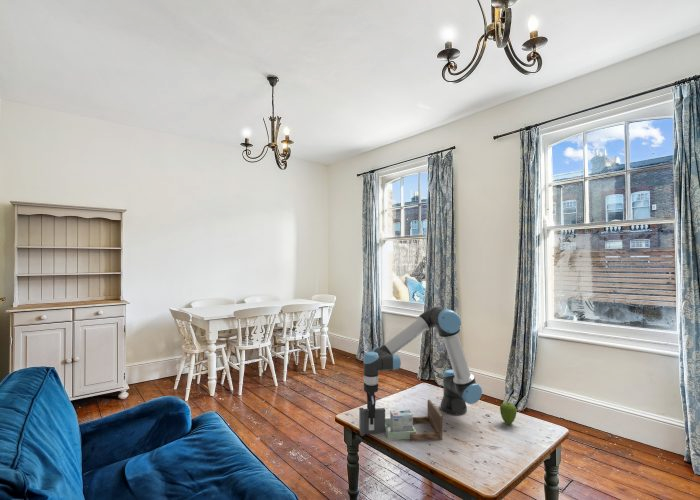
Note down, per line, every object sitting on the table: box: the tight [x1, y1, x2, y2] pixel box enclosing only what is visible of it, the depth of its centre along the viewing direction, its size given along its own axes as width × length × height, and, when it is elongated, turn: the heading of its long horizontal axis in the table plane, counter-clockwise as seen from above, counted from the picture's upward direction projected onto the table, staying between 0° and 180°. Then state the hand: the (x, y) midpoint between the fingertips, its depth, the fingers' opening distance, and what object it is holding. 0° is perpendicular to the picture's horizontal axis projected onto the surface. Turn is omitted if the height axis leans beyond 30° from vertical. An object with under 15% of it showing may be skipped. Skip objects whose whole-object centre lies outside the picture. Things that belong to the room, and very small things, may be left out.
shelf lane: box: [409, 399, 444, 442], centre depth 189 cm, size 16×20×12 cm
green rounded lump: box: [499, 401, 518, 425], centre depth 198 cm, size 9×8×12 cm
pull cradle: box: [358, 407, 418, 441], centre depth 187 cm, size 28×16×12 cm, turn 96°
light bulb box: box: [389, 408, 414, 432], centre depth 187 cm, size 11×7×11 cm, turn 98°
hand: (370, 428), depth 187 cm, fingers closed on pull cradle, 2 cm apart
